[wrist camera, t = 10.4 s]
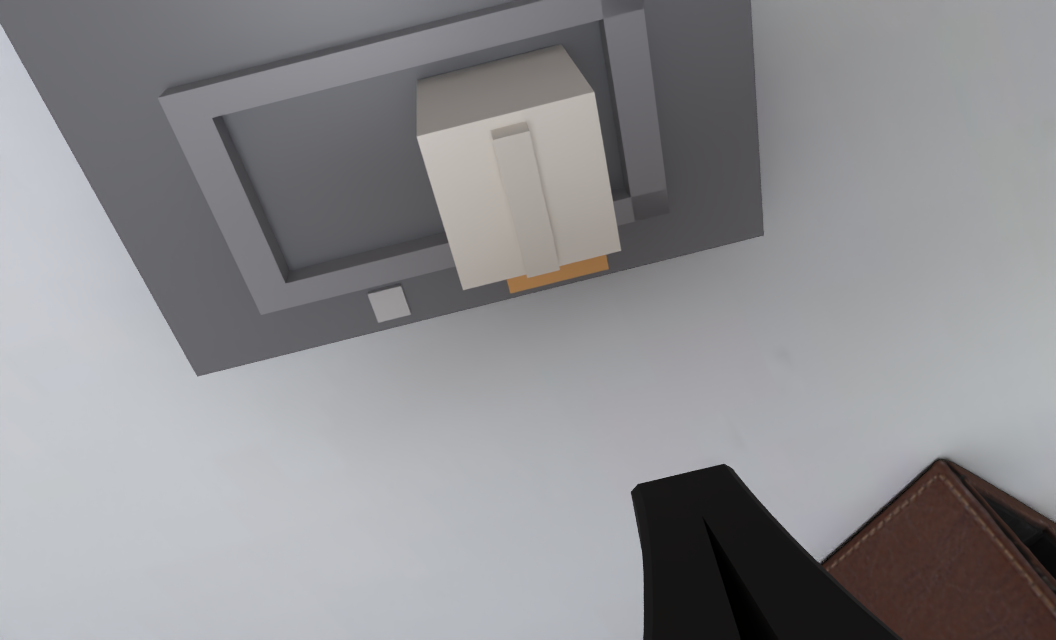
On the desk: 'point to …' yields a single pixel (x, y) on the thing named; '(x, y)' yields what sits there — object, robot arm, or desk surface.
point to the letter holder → (954, 562)
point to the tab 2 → (517, 166)
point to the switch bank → (368, 147)
